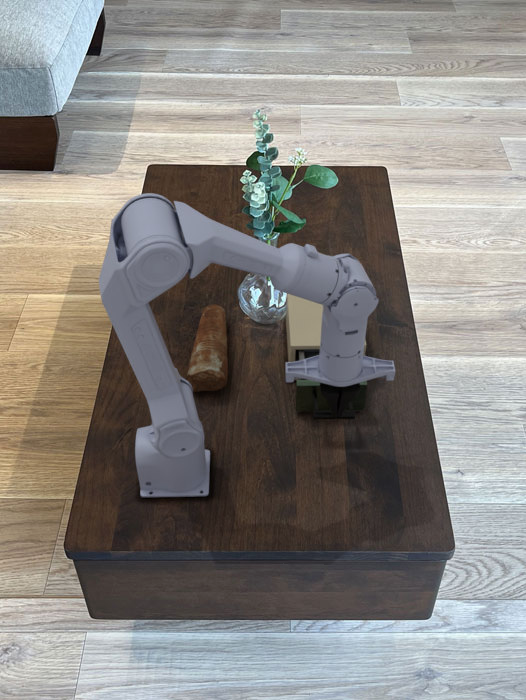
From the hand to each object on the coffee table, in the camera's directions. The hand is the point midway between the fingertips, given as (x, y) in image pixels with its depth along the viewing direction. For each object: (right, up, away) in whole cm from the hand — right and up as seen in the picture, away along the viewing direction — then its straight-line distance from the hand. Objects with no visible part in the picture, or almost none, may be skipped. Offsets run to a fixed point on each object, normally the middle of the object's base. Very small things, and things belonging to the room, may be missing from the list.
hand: (336, 412), depth 112 cm
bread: (-19, +8, +18) cm, 28 cm away
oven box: (-1, +9, +19) cm, 21 cm away
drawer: (0, +2, +11) cm, 11 cm away
